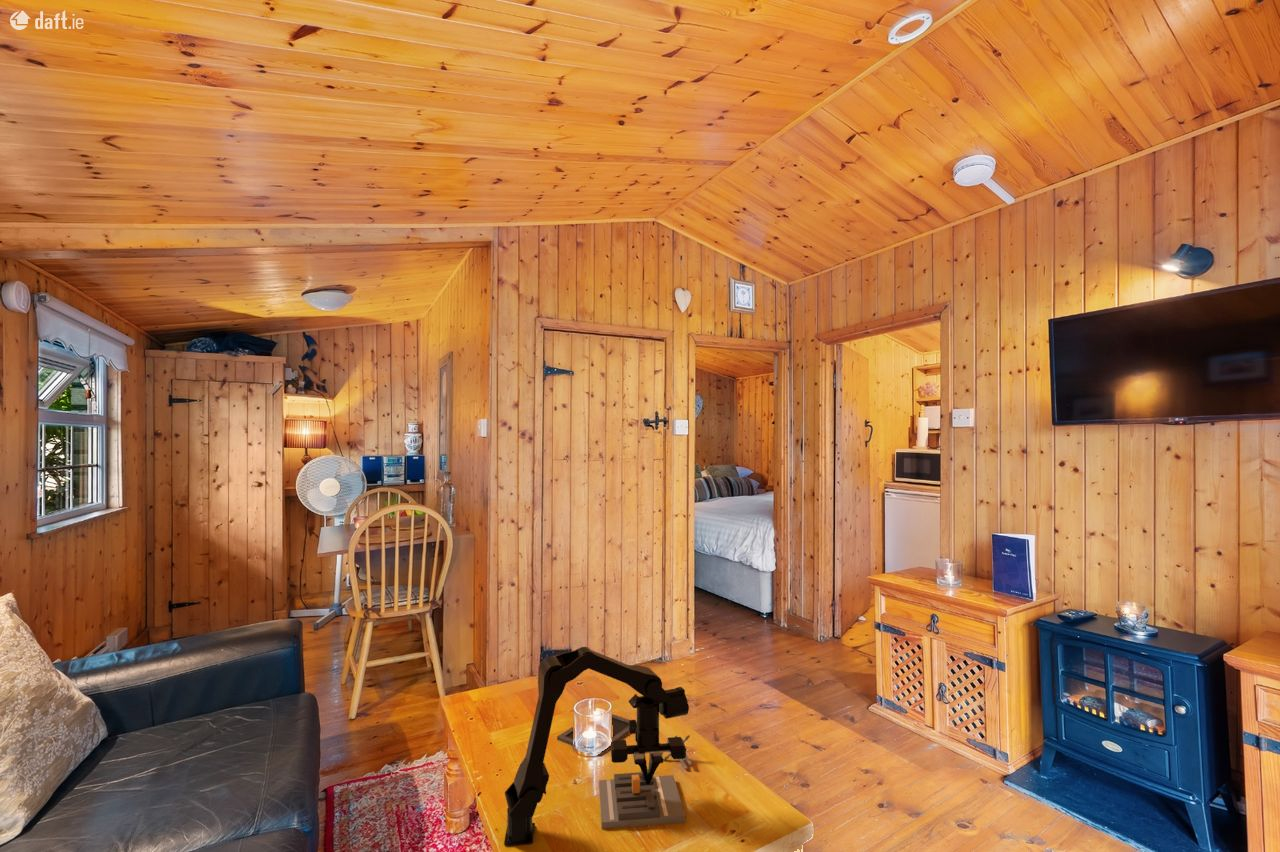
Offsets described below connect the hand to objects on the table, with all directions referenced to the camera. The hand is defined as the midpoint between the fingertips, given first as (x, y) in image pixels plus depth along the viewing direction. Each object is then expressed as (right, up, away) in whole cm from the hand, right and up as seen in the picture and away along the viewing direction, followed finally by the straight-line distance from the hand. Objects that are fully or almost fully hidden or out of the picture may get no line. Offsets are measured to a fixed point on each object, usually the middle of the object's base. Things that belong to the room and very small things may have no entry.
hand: (647, 783), depth 146 cm
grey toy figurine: (+10, -6, +19) cm, 22 cm away
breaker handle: (-3, -1, 0) cm, 3 cm away
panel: (-2, -5, 0) cm, 5 cm away
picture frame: (-15, -7, +35) cm, 39 cm away
